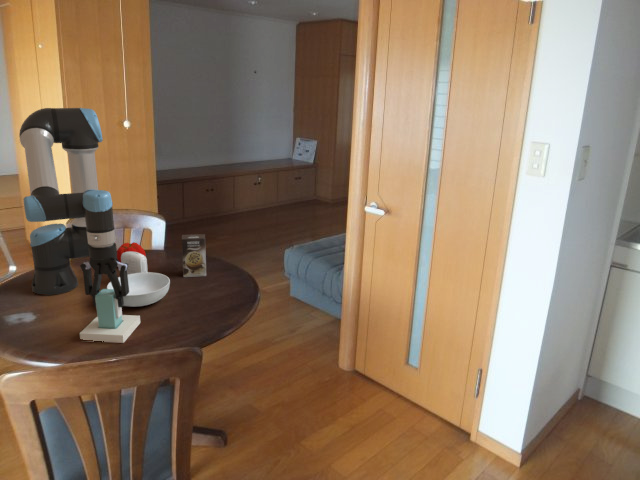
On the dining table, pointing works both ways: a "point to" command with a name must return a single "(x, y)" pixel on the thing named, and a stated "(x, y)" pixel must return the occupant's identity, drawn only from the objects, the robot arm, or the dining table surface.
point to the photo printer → (134, 262)
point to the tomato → (129, 249)
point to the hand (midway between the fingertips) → (109, 315)
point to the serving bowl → (145, 288)
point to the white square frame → (111, 330)
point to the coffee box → (194, 255)
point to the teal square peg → (107, 309)
